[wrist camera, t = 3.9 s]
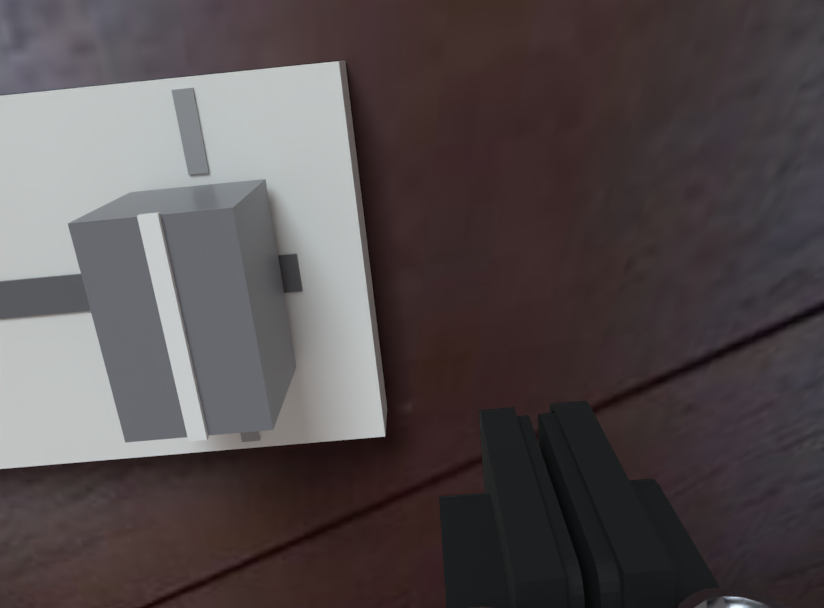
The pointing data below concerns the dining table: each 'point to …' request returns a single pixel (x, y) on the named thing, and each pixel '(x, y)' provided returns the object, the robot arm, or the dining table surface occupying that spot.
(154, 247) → the fader
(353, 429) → the fader board
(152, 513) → the dining table surface
